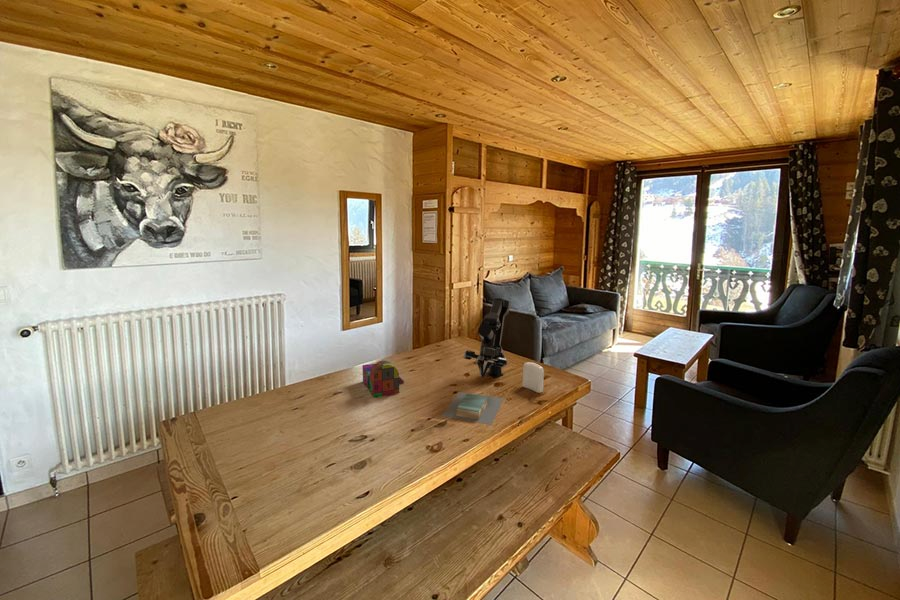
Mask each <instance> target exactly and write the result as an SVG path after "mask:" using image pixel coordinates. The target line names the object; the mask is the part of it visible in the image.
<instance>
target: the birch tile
mask: <svg viewBox="0 0 900 600" xmlns="http://www.w3.org/2000/svg"><path fill="white" fill-rule="evenodd" d="M472 394H473V393H470V394H466V396H465V397H464V398H463V400H462V401H461V403H460V404H459V406H458V407H457V413H456V416H461V417H467V418H473V419H479V418H480V417H481V415H482V413H483V411H484V409H485V407H486V405H487V397H485V396H486V395H483V396H478V395H479V394H476V395H472Z"/></svg>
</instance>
